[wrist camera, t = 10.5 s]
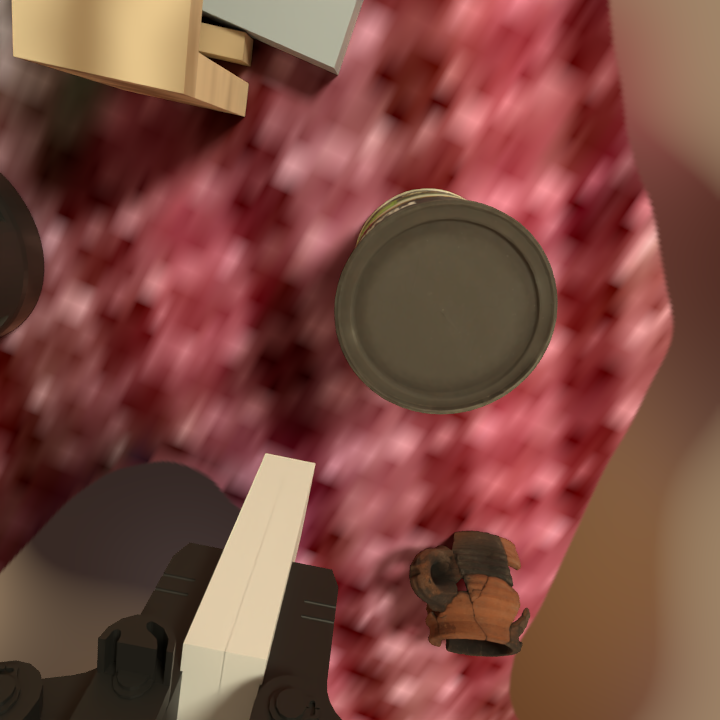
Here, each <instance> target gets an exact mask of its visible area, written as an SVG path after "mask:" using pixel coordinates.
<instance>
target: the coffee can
mask: <svg viewBox="0 0 720 720" xmlns="http://www.w3.org/2000/svg"><path fill="white" fill-rule="evenodd" d="M334 312H335V326H336V333H337V337H338V340H339V343H340V346H341V349H342V352H343V354H344V356H345V358H346V360H347V361H348V363H349V365H350V366H351V368H352V369H353V371H354V372H355V373H356V375H357V376H358V377H359V378H360V379H361V380H362V381H363V382H364V383H365V385H366V386H368V387H369V388H370V389H371V390H372V391H374V392H375V393H376V394H378V395H379V396H381V397H382V398H384V399H385V400H387V401H389V402H391V403H393V404H396V405H398V406H400V407H402V408H406V409H409V410H413V411H416V412H422V413H429V414H454V413H460V412H466V411H470V410H474V409H477V408H480V407H483V406H485V405H488V404H490V403H492V402H494V401H496V400H498V399H500V398H501V397H503V396H505V395H506V394H508V393H509V392H511V391H512V390H513V389H514V388H516V387H517V386H518V385H519V384H520V383H521V382H523V381H524V380H525V379H526V378H527V377H528V376H529V375H530V373H531V372H532V371H533V370H534V369H535V367H536V366H537V365H538V363H539V362H540V360H541V359H542V357H543V355H544V353H545V351H546V349H547V347H548V345H549V343H550V340H551V337H552V334H553V331H554V327H555V323H556V318H557V289H556V283H555V278H554V275H553V271H552V268H551V265H550V263H549V261H548V258H547V256H546V255H545V253H544V251H543V249H542V247H541V246H540V244H539V243H538V242H537V240H536V239H535V238H534V237H533V235H532V234H531V233H530V232H529V231H528V230H527V229H526V228H525V227H524V226H523V225H521V224H520V223H519V222H518V221H516V220H515V219H514V218H512V217H510V216H508V215H507V214H505V213H503V212H501V211H499V210H497V209H495V208H493V207H491V206H488V205H485V204H482V203H478V202H474V201H469V200H466V199H464V198H462V197H460V196H458V195H456V194H454V193H451V192H448V191H444V190H439V189H417V190H411V191H407V192H404V193H402V194H399V195H397V196H395V197H393V198H391V199H390V200H388V201H386V202H385V203H384V204H382V205H381V206H380V207H379V208H378V209H377V210H376V211H375V212H374V213H373V214H372V215H371V216H370V217H369V219H368V220H367V221H366V222H365V224H364V226H363V228H362V230H361V232H360V234H359V237H358V239H357V243H356V247H355V249H354V250H353V252H352V254H351V255H350V257H349V259H348V260H347V262H346V264H345V266H344V268H343V271H342V273H341V276H340V279H339V282H338V287H337V291H336V296H335V308H334Z"/></svg>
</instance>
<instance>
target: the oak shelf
mask: <svg viewBox="0 0 720 720" xmlns="http://www.w3.org/2000/svg"><path fill="white" fill-rule="evenodd" d="M202 7H203V0H12V31H13V56H14V57H17V58H20V59H24V60H27V61H30V62H34V63H37V64H40V65H43V66H47V67H50V68H53V69H56V70H60V71H63V72H66V73H70V74H73V75H76V76H79V77H83V78H86V79H89V80H93V81H96V82H99V83H102V84H106V85H109V86H112V87H116V88H119V89H122V90H125V91H130V92H134V93H139V94H144V95H148V96H153V97H157V98H162V99H166V100H171V101H175V102H180V103H184V104H189V105H194V106H198V107H203V108H207V109H212V110H216V111H221V112H225V113H230V114H235V115H239V116H244V117H245V111H246V102H247V93H248V85H249V84H248V83H247V82H245V81H244V80H242V79H240V78H239V77H237V76H236V75H234V74H232V73H231V72H229V71H228V70H226V69H224V68H223V67H221V66H219V65H218V64H216V63H215V62H213V61H211V60H210V59H208V58H207V57H210V58H214V59H219V60H223V61H228V62H232V63H237V64H241V65H246V66H250V67H251V59H252V50H253V41H254V40H253V39H252V38H251V37H250V36H249V35H248V34H247V33H246V32H241V31H237V30H232V29H228V28H223V27H219V26H214V25H210V24H206V23H201V19H202Z"/></svg>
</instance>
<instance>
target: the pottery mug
mask: <svg viewBox="0 0 720 720" xmlns="http://www.w3.org/2000/svg"><path fill="white" fill-rule="evenodd" d="M508 566H510V567H512V568H514V569H516V570H518V569H520V568H521V565H520V560H519V557H518V554H517V552H516V548H515V545H514V544H513V543H512V542H511V541H509V540H507V539H504V538H502V537H499V536H496V535H492V534H489V533H486V532H479V531H462V532H456V533H454V542H453V547H452V550H450V549H449V548H447V547H446V546H437V547H436V548H432V549H425V550H423V551H422V552H420V553H418V554H417V555H416V557H415V558H414V560H413V562H412V564H411V565H410V573H409V578H410V584H411V587H412V589H413V591H414V592H415V594H416V595H417V596H418V597H419V598H421V599H422V600H423V601H424V602H426V603H427V607H426V610H427V612H428V616H427V618H426V625H427V626H428V627H429V628H430V635H429V637H428V640H429V642H430V643H431V644H432V645H434V646H438V647H440V646H441V640H445V639H446V649H447V651H450V652H453V653H458V654H465V655H471V656H490V657H493V656H495V657H497V656H507V655H513V654H517V653H518V652H520V650H521V647H522V642H519V636H520V635H521V634H522V633H523V631H524V629H525V628H526V626H527V623H528V620H529V618H530V613H529V609H528V608H525V609H524V611H523V613H522V616H521V617H520V618H519V619H518V620H517V621H515V622H513V621H514V618H515V616H516V615H517V613H518V610H519V608H520V601H519V595H518V593H517V592H516V591H515V590H514V589H513V588H512V586H513V582H512V577H511V574H510V569H509V567H508ZM461 578H462V579H463V580H464V582H465V585H466V588H467V591H459V592H458V591H457V586H456V583H457V582H458V581H459V580H460V579H461ZM512 622H513V623H512Z"/></svg>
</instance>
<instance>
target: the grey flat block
mask: <svg viewBox="0 0 720 720" xmlns="http://www.w3.org/2000/svg"><path fill="white" fill-rule="evenodd" d="M362 3H363V0H203V7H202V16H204V17H206V18H209V19H211V20H213V21H215V22H218V23H220V24H222V25H225V26H227V27H229V28H231V29H234V30H237V31H241V32H246V33H247V34H248V35H249V36H250V37H252V38H254V39H257V40H259V41H261V42H263V43H266V44H268V45H270V46H272V47H275V48H277V49H279V50H282V51H284V52H286V53H288V54H291V55H293V56H295V57H298V58H300V59H302V60H304V61H307V62H309V63H311V64H313V65H316V66H318V67H320V68H323V69H325V70H327V71H329V72H332V73H334V74H336V75H338V74H339V71H340V68H341V65H342V62H343V59H344V56H345V53H346V50H347V47H348V44H349V41H350V38H351V35H352V32H353V30H354V27H355V24H356V21H357V18H358V15H359V12H360V9H361V6H362Z"/></svg>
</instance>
